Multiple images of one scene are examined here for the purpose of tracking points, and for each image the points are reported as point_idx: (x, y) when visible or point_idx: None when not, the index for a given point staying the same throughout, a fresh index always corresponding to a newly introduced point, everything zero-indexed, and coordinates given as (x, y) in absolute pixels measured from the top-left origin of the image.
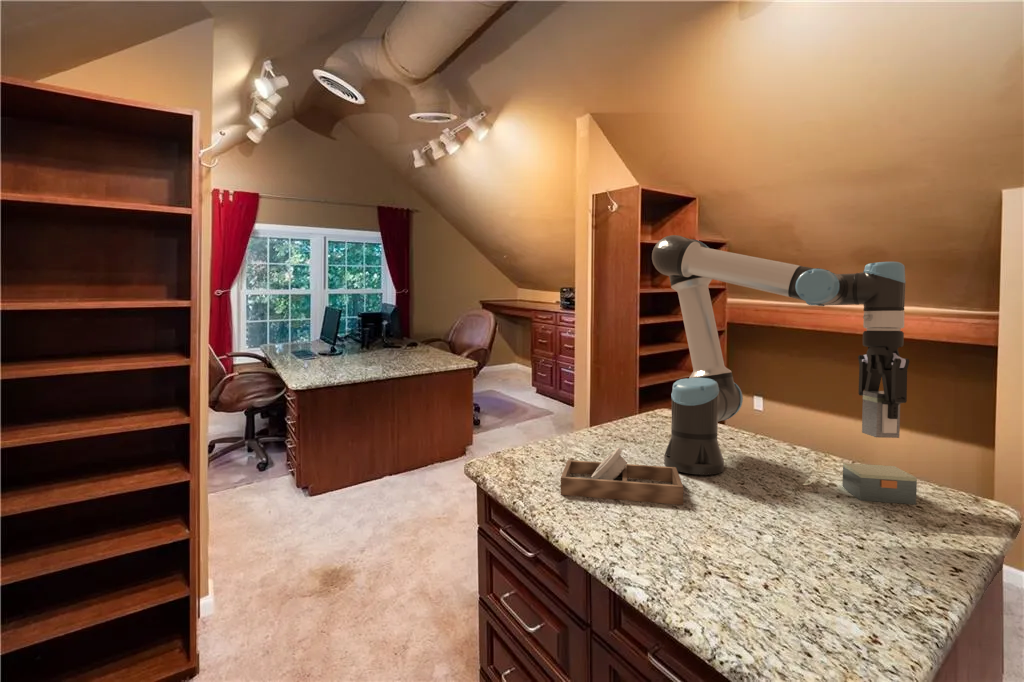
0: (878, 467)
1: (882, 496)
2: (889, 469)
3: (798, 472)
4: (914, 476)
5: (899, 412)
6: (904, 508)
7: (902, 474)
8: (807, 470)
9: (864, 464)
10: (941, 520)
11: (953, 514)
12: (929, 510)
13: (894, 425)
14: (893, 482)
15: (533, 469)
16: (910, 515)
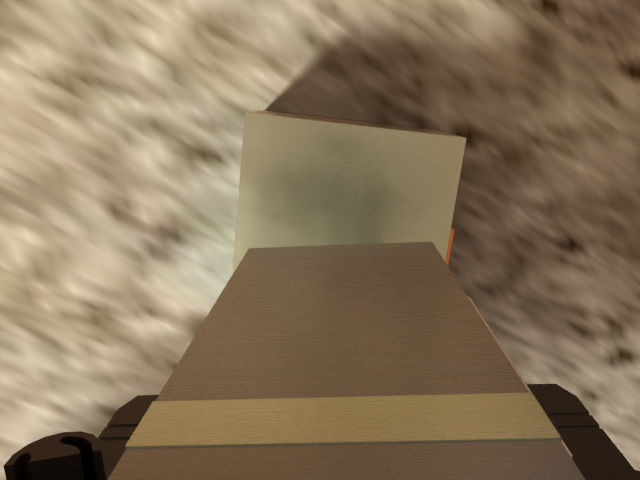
0: (286, 223)
1: None
2: (320, 187)
3: (56, 389)
4: (444, 136)
5: (485, 332)
6: (488, 210)
7: (412, 178)
8: (11, 336)
9: (235, 264)
10: (614, 151)
11: (548, 48)
12: (506, 120)
13: None
14: (450, 243)
15: None
16: (564, 237)
